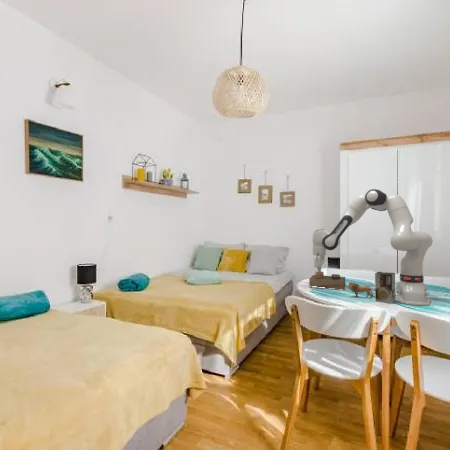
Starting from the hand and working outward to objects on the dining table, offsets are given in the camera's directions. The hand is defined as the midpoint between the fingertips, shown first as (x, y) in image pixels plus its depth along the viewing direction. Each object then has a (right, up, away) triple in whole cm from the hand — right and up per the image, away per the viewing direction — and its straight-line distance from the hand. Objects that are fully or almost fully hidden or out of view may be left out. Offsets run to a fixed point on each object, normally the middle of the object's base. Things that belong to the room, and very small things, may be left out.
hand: (319, 272), depth 222 cm
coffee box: (+25, -10, -43) cm, 50 cm away
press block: (+5, -10, -2) cm, 11 cm away
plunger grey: (+10, -9, -5) cm, 14 cm away
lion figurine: (+15, -10, -33) cm, 38 cm away
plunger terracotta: (0, -8, 0) cm, 8 cm away
